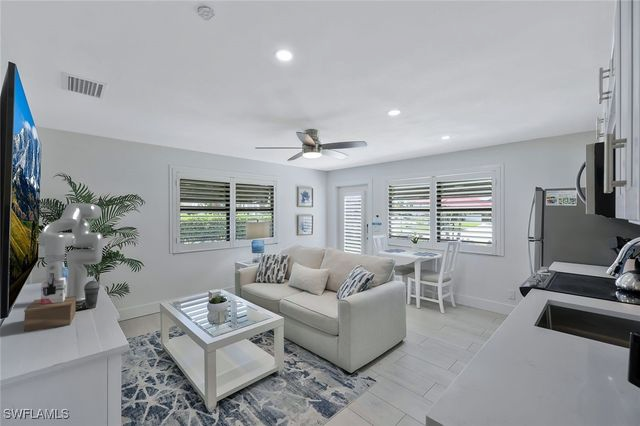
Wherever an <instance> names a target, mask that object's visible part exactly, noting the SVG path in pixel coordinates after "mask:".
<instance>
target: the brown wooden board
mask: <svg viewBox="0 0 640 426" xmlns="http://www.w3.org/2000/svg"><path fill="white" fill-rule="evenodd" d="M76 297H77V296H68V297H67V296H65V300H64V301H63V302H59V303H49V304H41V298H40V299H34V300H33V301H32V302H31V303H30V304H29V305H28V306H27V307H26V308H25V309H24V311H23V313H25V312H32V311H40V310H49V309H57V308H66V307H71V306H72V304H73V303H74V301H75V299H76Z"/></svg>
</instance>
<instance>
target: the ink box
mask: <svg viewBox="0 0 640 426" xmlns="http://www.w3.org/2000/svg"><path fill="white" fill-rule="evenodd" d="M47 284H48V282H47V281H46V278H44V279H43V280H42V281H41V291H40V299H41V304H49V303H59V302H63V301H64V300H65V297H66V287H67V277H64V276H63V277H62V278H61V280H60V281H56V284H55V286H56V294H53V295H47ZM53 284H54V283H53Z"/></svg>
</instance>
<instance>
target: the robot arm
mask: <svg viewBox="0 0 640 426" xmlns="http://www.w3.org/2000/svg"><path fill="white" fill-rule="evenodd" d="M101 216H102V208H101V207H100V206H99V205H97V204H94V203H84V202H83V203H82V202H81V203H80V202H71V203H69V204H67V205H66V206H65V208H64V210H63V212H62V214H61V216H60V218H58V219H56V220H54V221H52V222H50V223H47V224H45V226H44V227H43V228H42V230H41V232H40V233H39V236H38V239H37V243H38V244H39V246H41V247H44V259H43V260H44V263H46V270H45V271H46V276H45V279H46V281H47V282H48V284H47V295H53V294H56V286H55V284H56V281H60V280H61V278H63V277H64V276H63V274H64V273H63V272H64V271H63V270H64V269H63V268H64V266H63V264H64V263H63V262H65V260H66V263H67V277H66V297H68V296H77V297H76V303H77V302H81V301H85V291H84V287H85V285H86V284H87V283H88V270H87V268H86V266H84V265H97V264H98V265H99V263H101V262H102V260H103V259H102V258H103V248H104V237H103V234H102V233H101V232H90V228H91V227H90V223H89V222H88V221H87V220H86V219H88V220H90V219H91V220H92V219H93V220H96V219H97V220H98V219H99V218H101ZM71 229H72V230H71ZM68 230H71V232H63V231H68ZM71 246H72V247H73V248H85V249H72V250H70V251H68V252H67V253H66V248H67V247H71ZM86 248H88V249H86ZM89 248H90V249H89ZM91 248H92V249H91ZM65 258H66V259H65ZM53 283H54V284H53Z"/></svg>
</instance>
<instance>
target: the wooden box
mask: <svg viewBox="0 0 640 426" xmlns="http://www.w3.org/2000/svg"><path fill="white" fill-rule="evenodd" d="M76 303H77V302H76V299H75V301H74V303H73V304H72V306H71V307H66V308H57V309H49V310H40V311H32V312H24V320H23V321H24V323H23V324H24V326H23V332H33V331H39V330H47V329H53V328H61V327H66V326H71V323H72V321H73V319H74V317H75V315H76V305H77V304H76Z"/></svg>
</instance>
